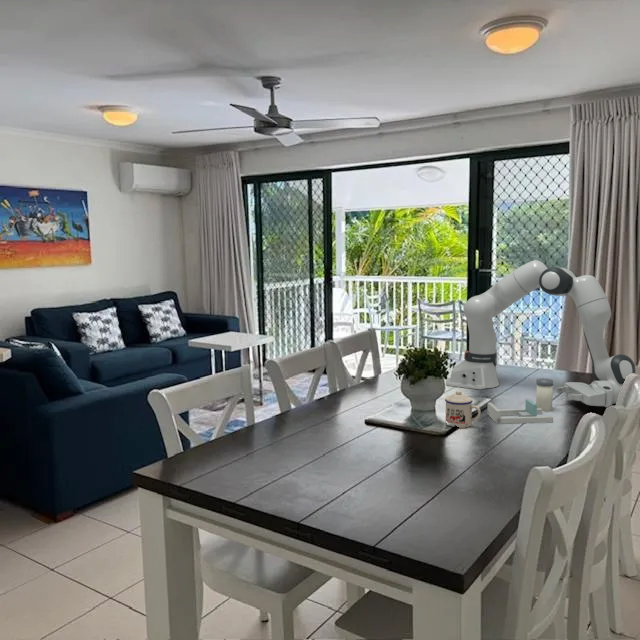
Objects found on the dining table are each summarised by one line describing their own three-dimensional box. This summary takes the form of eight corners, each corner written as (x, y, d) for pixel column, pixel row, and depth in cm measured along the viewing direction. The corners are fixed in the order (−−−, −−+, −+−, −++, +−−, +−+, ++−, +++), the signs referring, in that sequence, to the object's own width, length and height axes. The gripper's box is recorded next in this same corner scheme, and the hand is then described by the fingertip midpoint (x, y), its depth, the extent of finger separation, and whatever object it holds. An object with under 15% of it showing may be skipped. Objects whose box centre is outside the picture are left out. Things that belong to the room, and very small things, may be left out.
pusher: (528, 414, 216) (529, 399, 215) (536, 420, 208) (536, 404, 208) (516, 414, 215) (516, 399, 215) (523, 420, 208) (524, 405, 207)
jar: (535, 411, 220) (536, 381, 219) (536, 406, 226) (536, 378, 224) (552, 412, 218) (553, 382, 217) (552, 408, 224) (553, 379, 222)
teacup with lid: (441, 426, 205) (441, 392, 203) (450, 419, 213) (450, 386, 211) (475, 431, 199) (476, 396, 197) (484, 424, 206) (484, 390, 205)
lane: (540, 413, 217) (541, 401, 217) (552, 422, 207) (553, 409, 206) (487, 414, 217) (487, 402, 217) (497, 423, 206) (497, 411, 206)
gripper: (587, 377, 232) (551, 378, 231) (614, 391, 211) (574, 392, 211) (586, 393, 233) (550, 394, 232) (613, 408, 212) (574, 409, 212)
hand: (562, 393), depth 222 cm, fingers open, 8 cm apart
